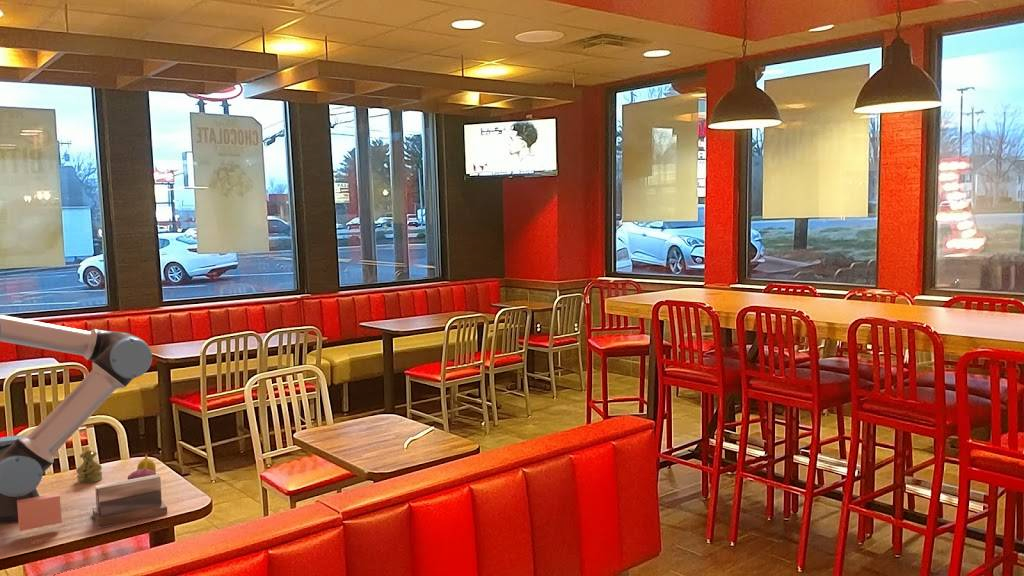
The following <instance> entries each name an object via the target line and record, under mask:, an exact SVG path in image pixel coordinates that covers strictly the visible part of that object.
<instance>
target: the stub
mask: <svg viewBox="0 0 1024 576" xmlns="http://www.w3.org/2000/svg"><path fill="white" fill-rule="evenodd" d="M61 506H62V505H61V495H60V493H59V492H55V493H51V494H50V493H49V494H45V495H39V496H38V497H33V498H28V499H22V500H17V508H18V521H17V522H18V528H19V532H22V531H27V530H32V529H36V528H41V527H46V526H51V525H52V526H53V525H57V524H62V510H61V509H62V508H61Z"/></svg>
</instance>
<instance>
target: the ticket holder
mask: <svg viewBox="0 0 1024 576" xmlns="http://www.w3.org/2000/svg"><path fill="white" fill-rule="evenodd" d="M161 479H162V478H161V475H160V474H159V473H156V475H151V476H145V477H140V478H135V479H129V480H128V479H124V480H118V481H114V482H113V481H112V482H109V483H104V484H103V483H102V484H98V485H95V486H94V488H95V489H94V491H95V506H96V507H92V509H91V510H92V516H93V518H94V519H95V522H96V524H97V525H98V528H99V529H101V528H106V527H111V526H116V525H120V524H126V523H129V522H134V521H138V520H139V521H140V520H143V519H148V518H149V519H150V518H152V517H157V516H158V517H159V516H162V515H167V514H168V506H167V505H166V504H165V502H164V501H163V500H162V483H161Z"/></svg>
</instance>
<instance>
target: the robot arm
mask: <svg viewBox="0 0 1024 576" xmlns="http://www.w3.org/2000/svg"><path fill="white" fill-rule="evenodd" d="M0 342H2V343H8V344H14V345H20V346H26V347H31V348H38V349H42V350H49V351H53V352H60V353H66V354H72V355H78V356H83V358H84V359H85V360H86V361H93V362H92V370H91V371H90V372H89V373H88V374H87V375H86V376H85V377H84V378H83V379H82V380H81V381H80V382H79V383H78V384H77V385H76V387H75V388H73V389H72V391H70V392H69V394H68V395H66V397H64V398H63V400H61V401H60V402H59V404H58V405H57V406H56V407H55V408H54V409H53V410H52V411H51V412H50V413H48V415H47V416H46V417H45V418H44V419H43V420H42V421H41V422H40V423H39V424H38V425H37V426H36V427H35V428H34V429H33V430H32V431H31V432H30V433H29V434H28V435H27V434H21V435H20V434H19V435H9V436H2V437H0V524H5V523H6V524H7V523H14V522H19V521H18V508H17V500H22V499H28V498H33V497H38V496H40V494H39V492H38V490H37V487H38V486H39V485H40V483H41V482H42V479H43V475H44V473H45V472H46V471H47V470H48V469H49V468H50V467H51V466H52V465H53V464H54V462H55V459H54V458H55V457H54V455H55V454H56V452H58V450H60V448H62V446H63V445H64V444H65V443H67V441H69V439H70V438H71V437H72V436H73V435H74V434H75V433H76V432H77V431H78V430H79V428H80V427H81V426H82V425H84V424H85V422H86V421H88V419H89V418H90V417H91V416H92V415H93V414H94V413H95V412H96V411H97V410H98V409H99V408H100V406H102V405H103V403H104V402H105V401H106V400H107V399H109V398H110V396H111V395H112V394H113V393H114V392H115V391H117V390H119V389H125V388H126V387H127V386H128V385H129V384H130V383H131V382H132V381H133V379H136V378H138V377H141V376H142V375H144V374H145V373H146V372H147V371H148V370H149V368H150V367H151V364H152V362H153V353H152V350H151V348H150V346H149V345H148V343H147V342H146V341H145V340H143V339H141V338H140V337H138V336H136V335H133V334H132V333H128V332H123V331H111V330H103V329H97V328H93V329H91V330H86V329H85V330H83V329H79V328H75V327H69V326H63V325H58V324H57V325H56V324H53V323H46V322H41V321H37V320H32V319H25V318H20V317H15V316H10V315H4V314H0Z"/></svg>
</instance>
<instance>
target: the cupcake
mask: <svg viewBox="0 0 1024 576" xmlns="http://www.w3.org/2000/svg"><path fill="white" fill-rule="evenodd" d="M144 459H145V465H144V469H139V470H134V472H131V473H130V474H128V476H127V480H129V479H135V478H140V477H145V476H151V475H156V474H157V473H156V472H157V471H156V472H154V471H153V470H151V469H146V467H147V459H148V453H146V454H145V457H144Z"/></svg>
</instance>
